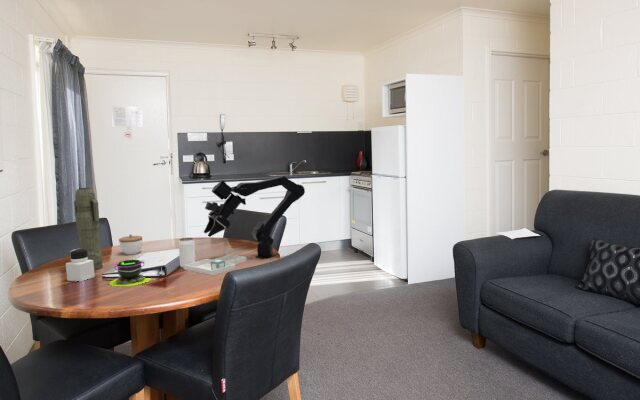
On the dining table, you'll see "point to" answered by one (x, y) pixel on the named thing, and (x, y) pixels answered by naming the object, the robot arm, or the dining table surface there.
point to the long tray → (208, 267)
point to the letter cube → (217, 264)
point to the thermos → (88, 224)
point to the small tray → (232, 259)
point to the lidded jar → (131, 244)
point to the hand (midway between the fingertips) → (206, 234)
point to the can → (186, 251)
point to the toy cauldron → (129, 273)
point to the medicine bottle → (79, 266)
